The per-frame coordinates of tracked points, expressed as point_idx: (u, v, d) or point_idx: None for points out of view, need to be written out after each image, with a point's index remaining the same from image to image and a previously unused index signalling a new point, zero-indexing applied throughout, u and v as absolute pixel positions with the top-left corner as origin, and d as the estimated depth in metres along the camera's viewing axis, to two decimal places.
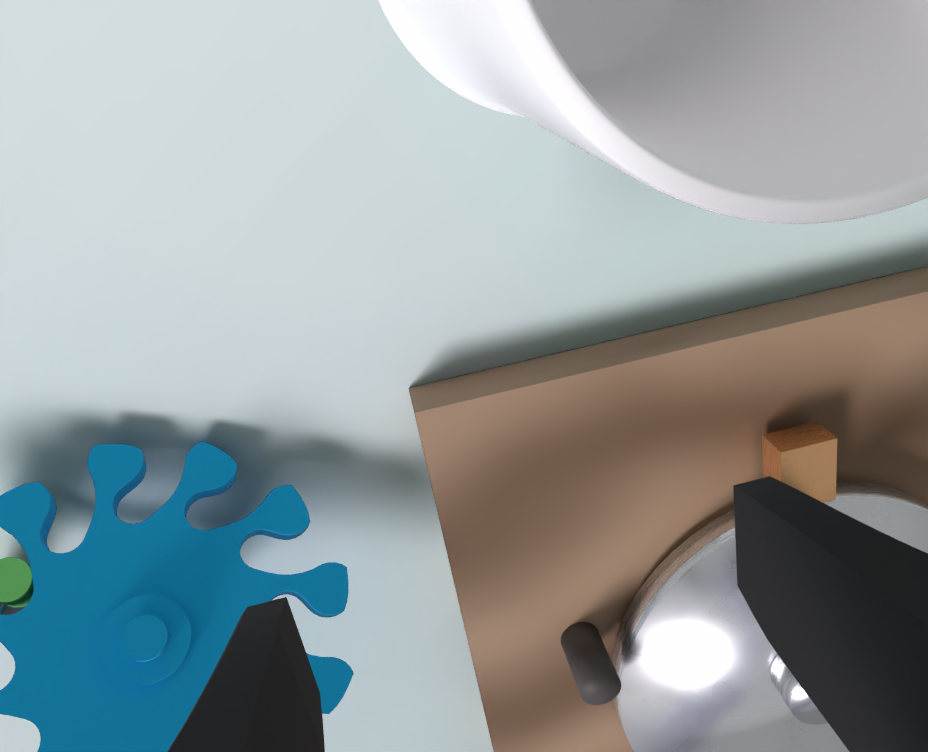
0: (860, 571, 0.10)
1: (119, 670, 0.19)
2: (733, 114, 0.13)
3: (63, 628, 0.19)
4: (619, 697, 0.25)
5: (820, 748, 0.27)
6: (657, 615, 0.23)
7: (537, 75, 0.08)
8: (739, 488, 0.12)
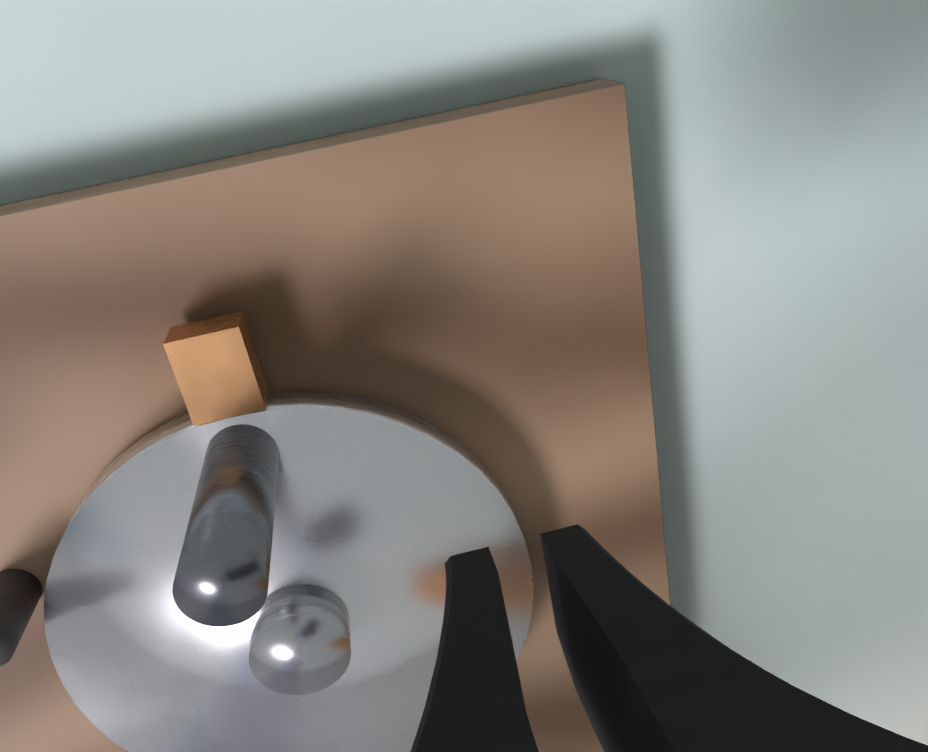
0: (613, 635, 0.10)
1: None
2: None
3: None
4: (54, 661, 0.20)
5: (356, 726, 0.22)
6: (65, 556, 0.19)
7: None
8: (543, 537, 0.12)
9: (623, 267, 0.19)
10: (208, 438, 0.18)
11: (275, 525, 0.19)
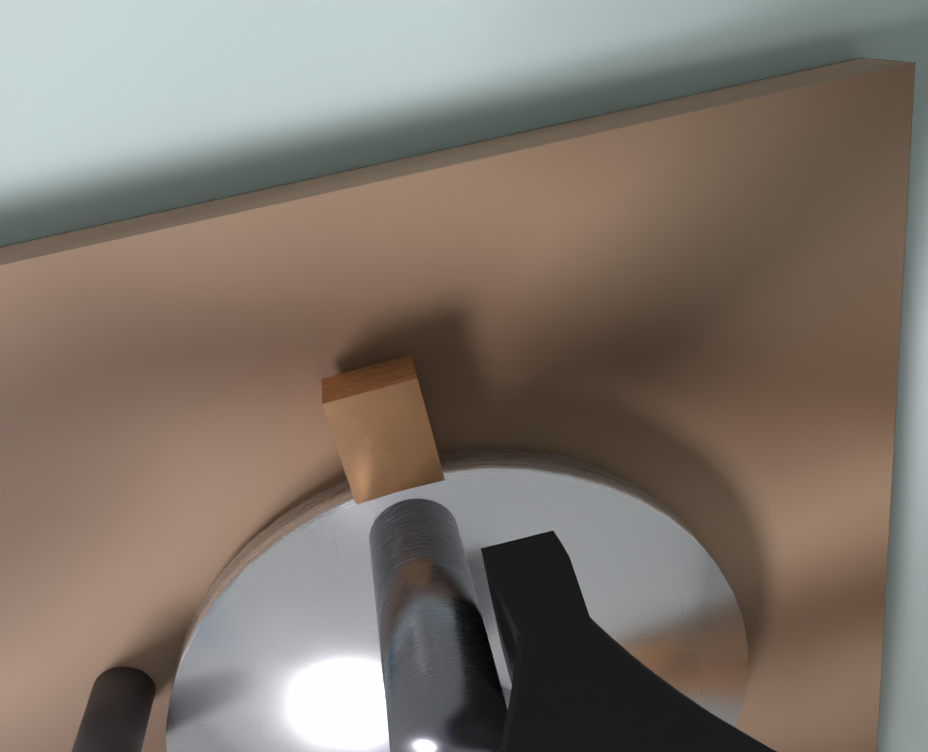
0: (536, 655, 0.10)
1: None
2: None
3: None
4: None
5: None
6: (193, 668, 0.15)
7: None
8: (482, 552, 0.12)
9: (882, 292, 0.16)
10: (373, 517, 0.14)
11: None
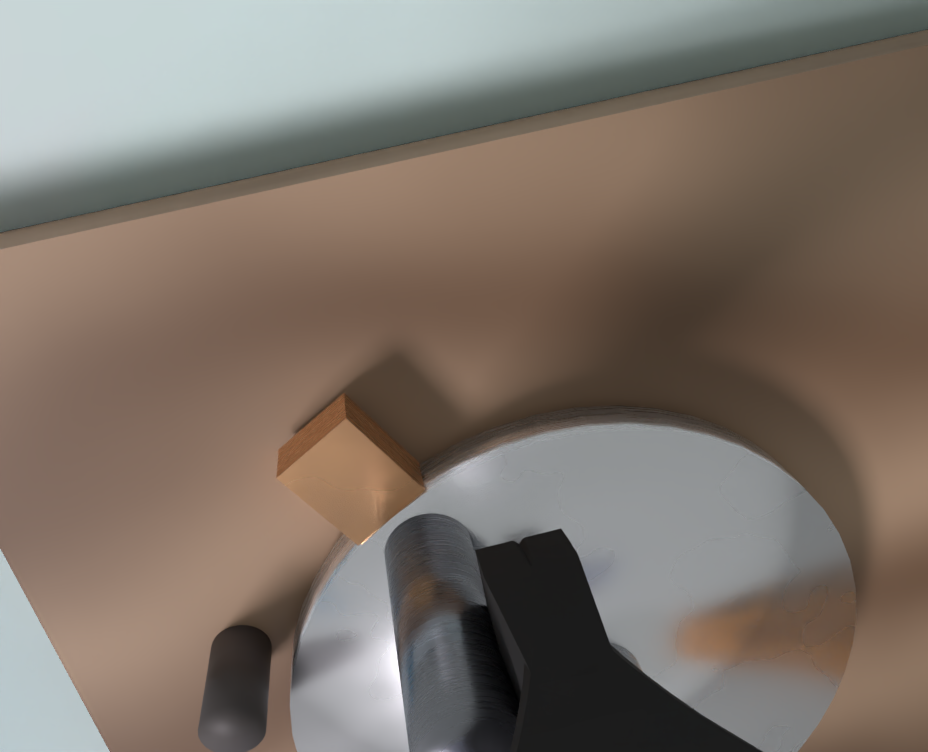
0: (529, 657, 0.10)
1: None
2: None
3: None
4: None
5: None
6: (304, 732, 0.16)
7: None
8: (477, 554, 0.12)
9: None
10: (381, 551, 0.15)
11: None
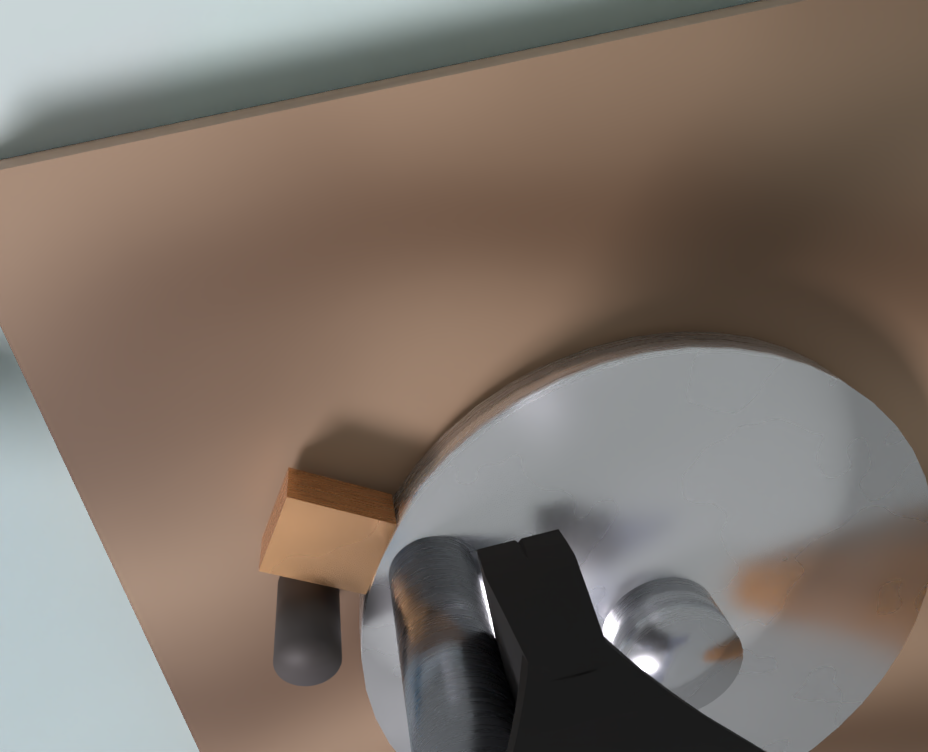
0: (531, 657, 0.10)
1: None
2: None
3: None
4: None
5: (822, 643, 0.18)
6: None
7: None
8: (478, 553, 0.12)
9: None
10: (389, 590, 0.15)
11: None
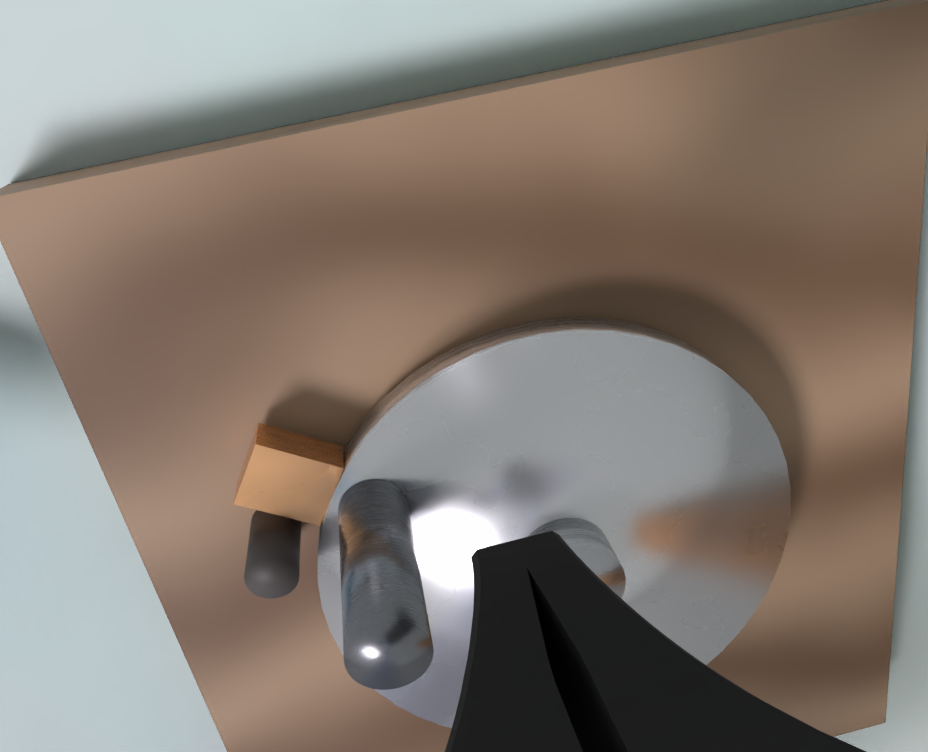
0: (580, 644, 0.10)
1: None
2: None
3: None
4: (447, 724, 0.22)
5: (702, 578, 0.21)
6: None
7: None
8: (516, 544, 0.12)
9: (907, 193, 0.19)
10: (339, 522, 0.19)
11: (455, 523, 0.19)
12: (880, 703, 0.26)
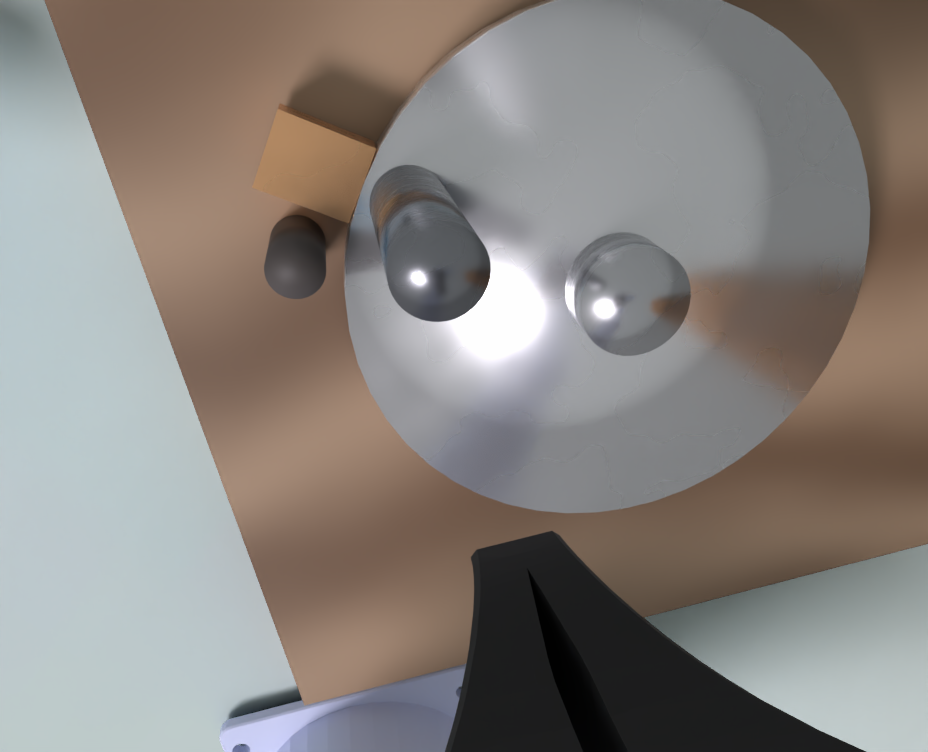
0: (580, 644, 0.10)
1: None
2: None
3: None
4: (484, 494, 0.20)
5: (768, 321, 0.19)
6: (396, 414, 0.19)
7: None
8: (516, 544, 0.12)
9: None
10: (370, 220, 0.17)
11: (500, 231, 0.17)
12: None
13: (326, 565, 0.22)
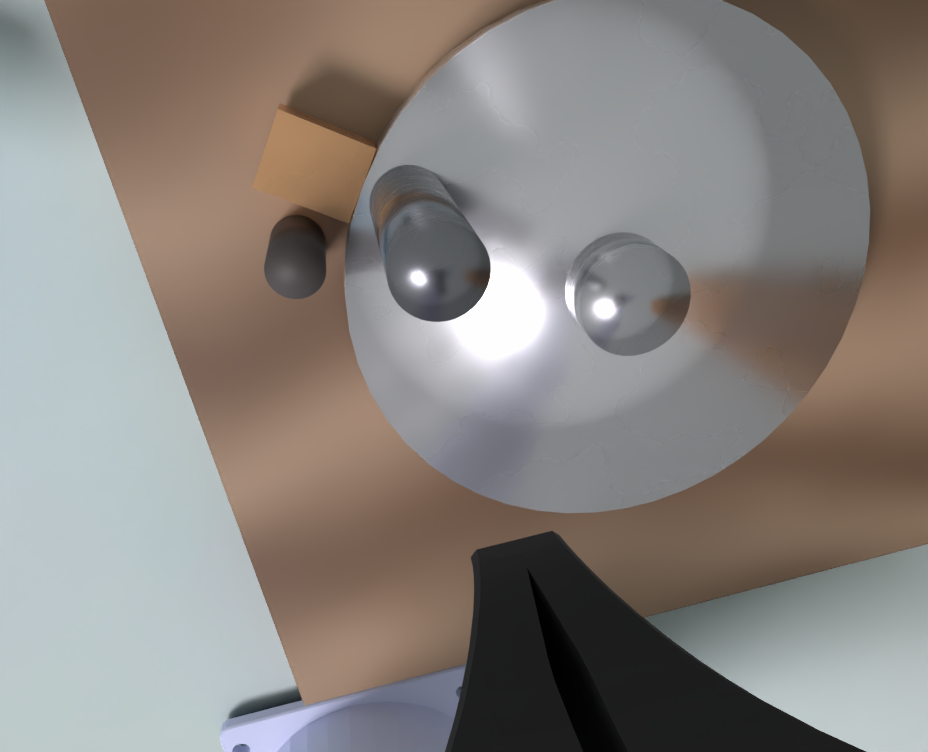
0: (580, 644, 0.10)
1: None
2: None
3: None
4: (484, 494, 0.20)
5: (768, 321, 0.19)
6: (396, 414, 0.19)
7: None
8: (516, 544, 0.12)
9: None
10: (370, 220, 0.17)
11: (500, 231, 0.17)
12: None
13: (326, 565, 0.22)
